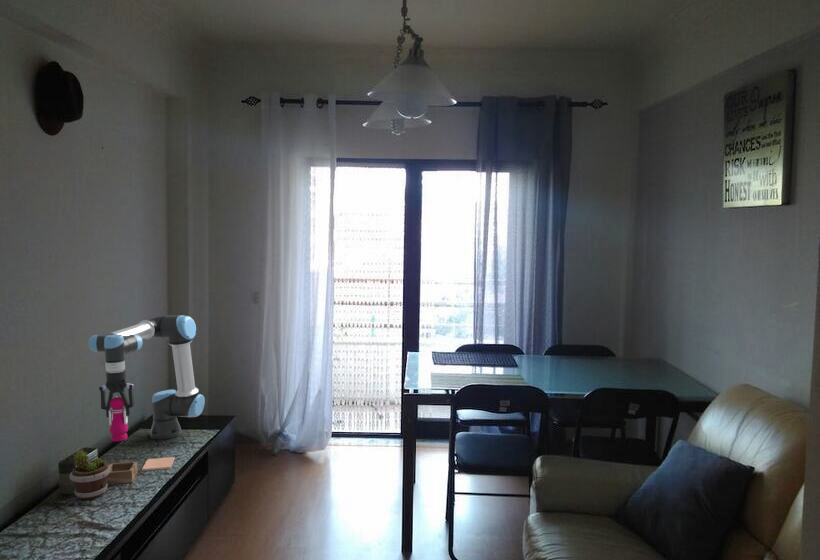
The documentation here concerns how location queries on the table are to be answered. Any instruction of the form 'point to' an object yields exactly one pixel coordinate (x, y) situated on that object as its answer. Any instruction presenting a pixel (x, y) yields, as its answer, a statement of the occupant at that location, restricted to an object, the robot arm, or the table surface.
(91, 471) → the flowerpot
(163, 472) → the table surface
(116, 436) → the pepper mill
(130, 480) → the wooden box
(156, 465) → the plate
